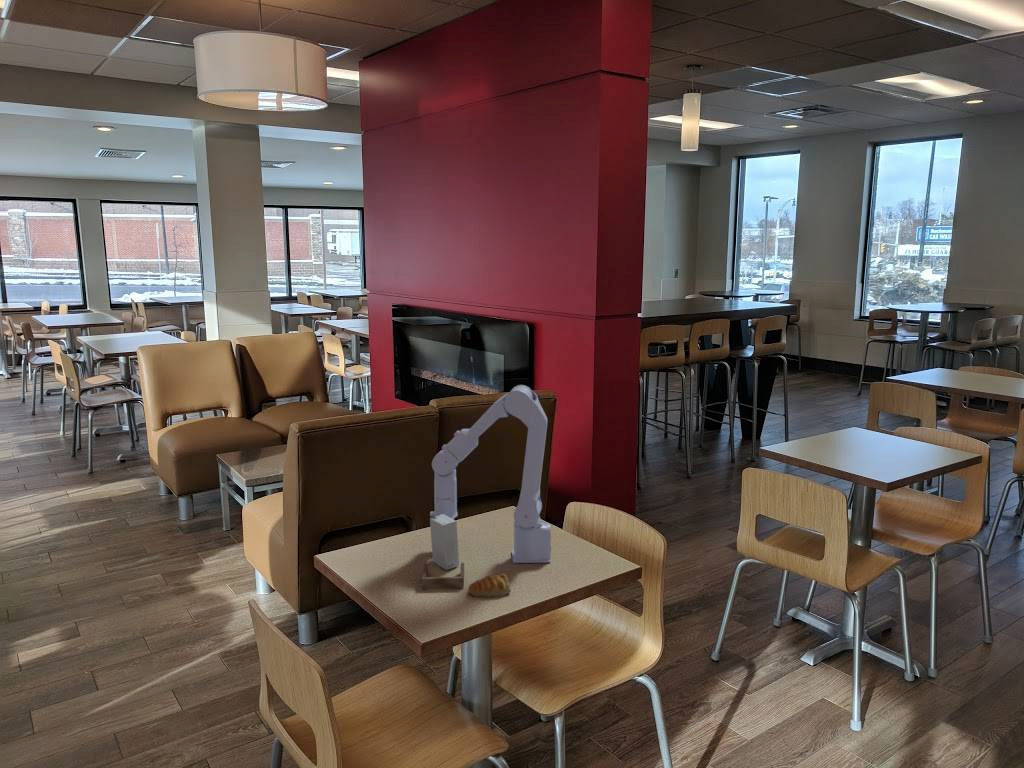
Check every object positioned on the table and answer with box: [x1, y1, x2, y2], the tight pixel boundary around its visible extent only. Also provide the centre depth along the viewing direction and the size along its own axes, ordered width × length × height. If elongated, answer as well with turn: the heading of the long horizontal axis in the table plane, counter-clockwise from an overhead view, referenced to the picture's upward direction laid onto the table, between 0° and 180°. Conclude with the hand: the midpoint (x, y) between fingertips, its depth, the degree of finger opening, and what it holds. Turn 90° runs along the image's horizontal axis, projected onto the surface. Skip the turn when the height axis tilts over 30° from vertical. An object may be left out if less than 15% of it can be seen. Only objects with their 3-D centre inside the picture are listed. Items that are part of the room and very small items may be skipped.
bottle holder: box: [421, 562, 465, 590], centre depth 176 cm, size 10×9×2 cm
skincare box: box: [429, 514, 460, 571], centre depth 184 cm, size 6×4×12 cm
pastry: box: [468, 573, 512, 598], centre depth 170 cm, size 9×7×4 cm
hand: (445, 546), depth 193 cm, fingers open, 5 cm apart
